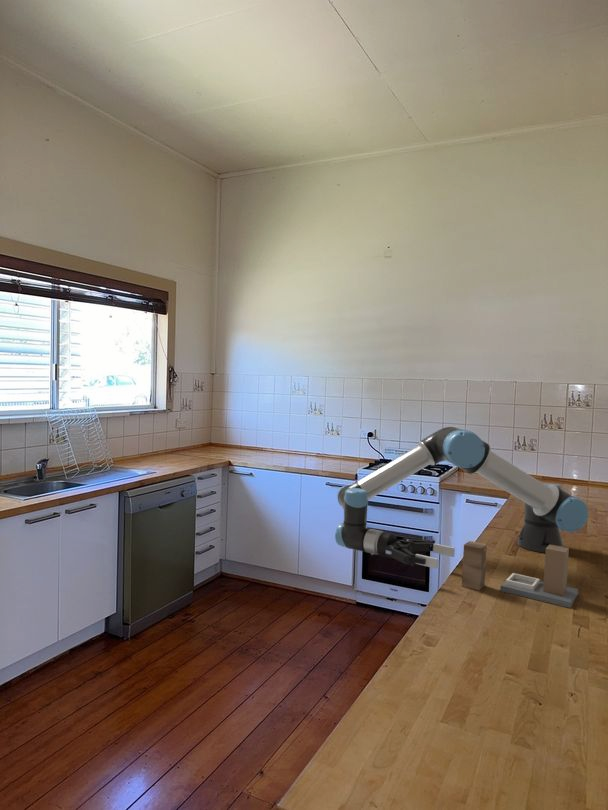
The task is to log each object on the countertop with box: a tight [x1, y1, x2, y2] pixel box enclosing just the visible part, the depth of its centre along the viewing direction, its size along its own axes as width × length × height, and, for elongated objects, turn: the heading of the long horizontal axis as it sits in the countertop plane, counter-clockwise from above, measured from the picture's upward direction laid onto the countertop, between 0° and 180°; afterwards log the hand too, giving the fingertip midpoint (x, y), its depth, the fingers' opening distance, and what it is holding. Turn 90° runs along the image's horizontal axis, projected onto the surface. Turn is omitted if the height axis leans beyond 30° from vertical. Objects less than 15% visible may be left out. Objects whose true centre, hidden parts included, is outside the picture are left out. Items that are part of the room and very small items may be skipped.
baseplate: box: [500, 544, 579, 609], centre depth 157 cm, size 12×18×14 cm, turn 55°
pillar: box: [461, 540, 488, 591], centre depth 160 cm, size 5×5×12 cm
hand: (446, 557), depth 165 cm, fingers open, 13 cm apart
